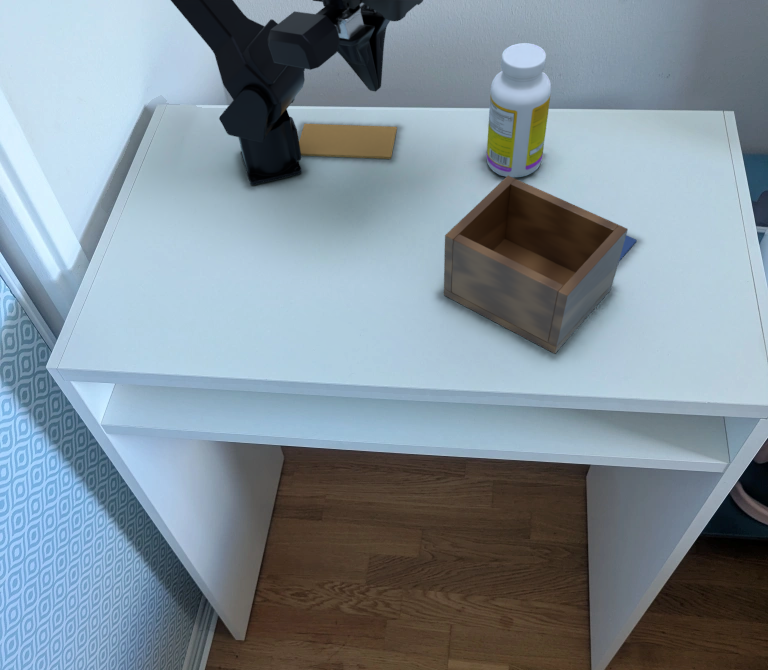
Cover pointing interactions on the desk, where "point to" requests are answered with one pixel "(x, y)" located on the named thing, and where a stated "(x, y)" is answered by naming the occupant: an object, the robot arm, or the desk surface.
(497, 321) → the crate
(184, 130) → the desk surface
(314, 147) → the tan cloth
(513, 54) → the supplement bottle
